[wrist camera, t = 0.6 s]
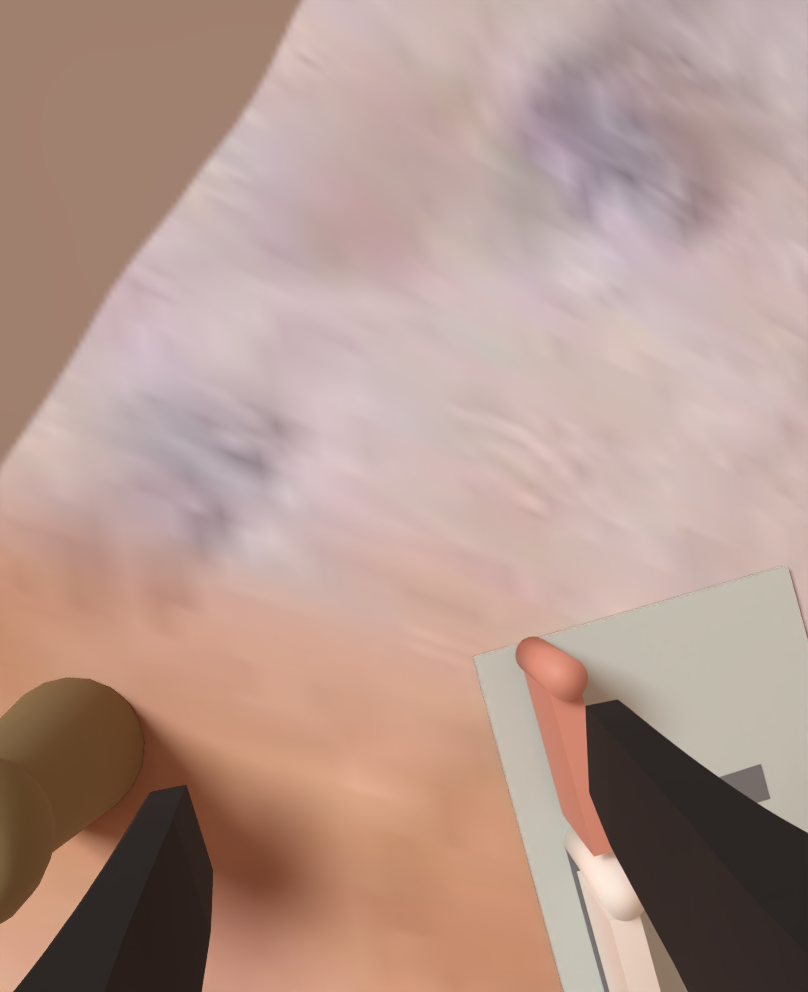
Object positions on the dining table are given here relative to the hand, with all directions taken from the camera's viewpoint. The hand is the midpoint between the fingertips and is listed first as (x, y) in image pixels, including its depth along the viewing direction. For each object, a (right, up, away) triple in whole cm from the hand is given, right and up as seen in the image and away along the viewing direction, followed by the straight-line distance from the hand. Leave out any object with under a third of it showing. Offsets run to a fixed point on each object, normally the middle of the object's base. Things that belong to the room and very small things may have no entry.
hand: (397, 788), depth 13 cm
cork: (-14, -5, +18) cm, 24 cm away
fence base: (+9, -14, +20) cm, 26 cm away
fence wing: (+7, -5, +19) cm, 21 cm away
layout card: (+13, -9, +20) cm, 25 cm away
